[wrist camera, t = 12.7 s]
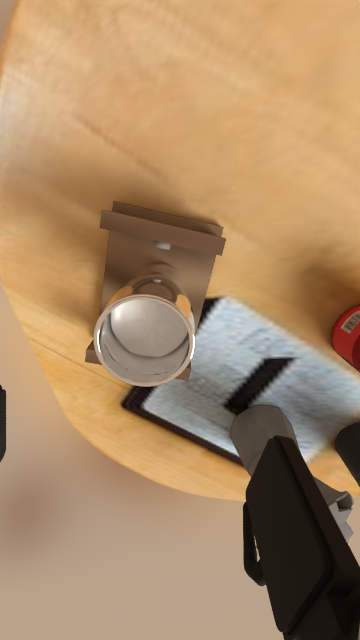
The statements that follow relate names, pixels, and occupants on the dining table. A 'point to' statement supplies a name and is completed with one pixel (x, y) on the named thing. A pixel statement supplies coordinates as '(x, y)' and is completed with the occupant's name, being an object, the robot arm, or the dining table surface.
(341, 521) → the coffeepot
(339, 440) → the travel mug
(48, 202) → the dining table surface
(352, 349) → the canned food
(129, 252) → the holder
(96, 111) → the dining table surface
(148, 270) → the beer glass
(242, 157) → the dining table surface
